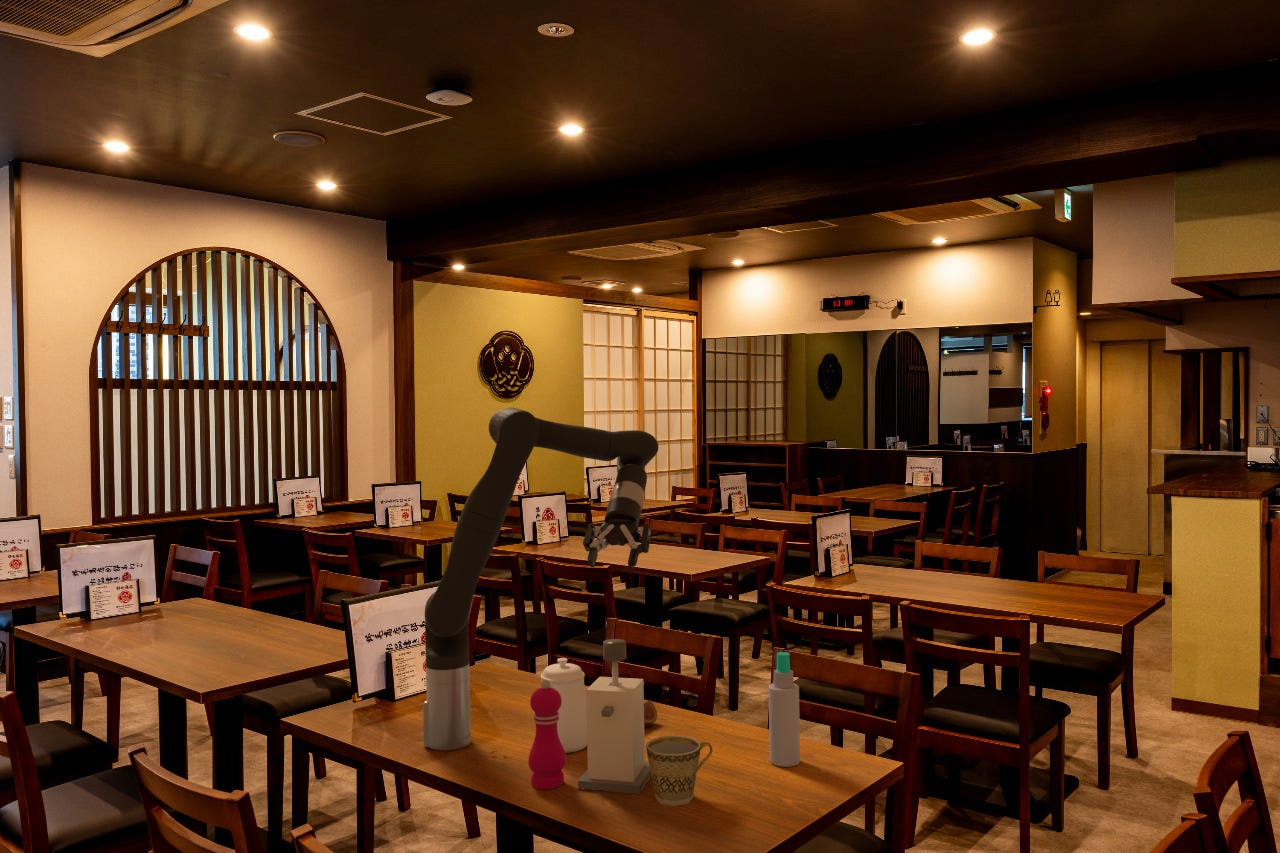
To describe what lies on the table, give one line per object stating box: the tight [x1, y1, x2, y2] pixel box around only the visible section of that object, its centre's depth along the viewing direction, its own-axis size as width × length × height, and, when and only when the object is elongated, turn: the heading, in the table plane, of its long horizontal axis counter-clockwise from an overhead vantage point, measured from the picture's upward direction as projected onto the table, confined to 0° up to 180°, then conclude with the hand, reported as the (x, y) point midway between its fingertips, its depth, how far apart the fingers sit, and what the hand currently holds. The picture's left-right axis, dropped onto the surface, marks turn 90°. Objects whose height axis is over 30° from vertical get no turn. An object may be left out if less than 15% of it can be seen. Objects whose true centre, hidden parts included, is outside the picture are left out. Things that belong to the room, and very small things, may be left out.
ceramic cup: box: [645, 735, 713, 807], centre depth 174 cm, size 13×10×10 cm
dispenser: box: [577, 676, 652, 795], centre depth 183 cm, size 12×13×18 cm
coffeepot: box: [540, 657, 587, 754], centre depth 202 cm, size 11×25×19 cm, turn 168°
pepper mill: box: [528, 680, 567, 790], centre depth 182 cm, size 7×7×20 cm
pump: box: [602, 638, 627, 686], centre depth 183 cm, size 4×4×21 cm
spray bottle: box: [768, 651, 801, 768], centre depth 191 cm, size 6×6×22 cm
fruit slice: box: [644, 699, 658, 728], centre depth 214 cm, size 8×7×5 cm
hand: (610, 565), depth 200 cm, fingers open, 8 cm apart
